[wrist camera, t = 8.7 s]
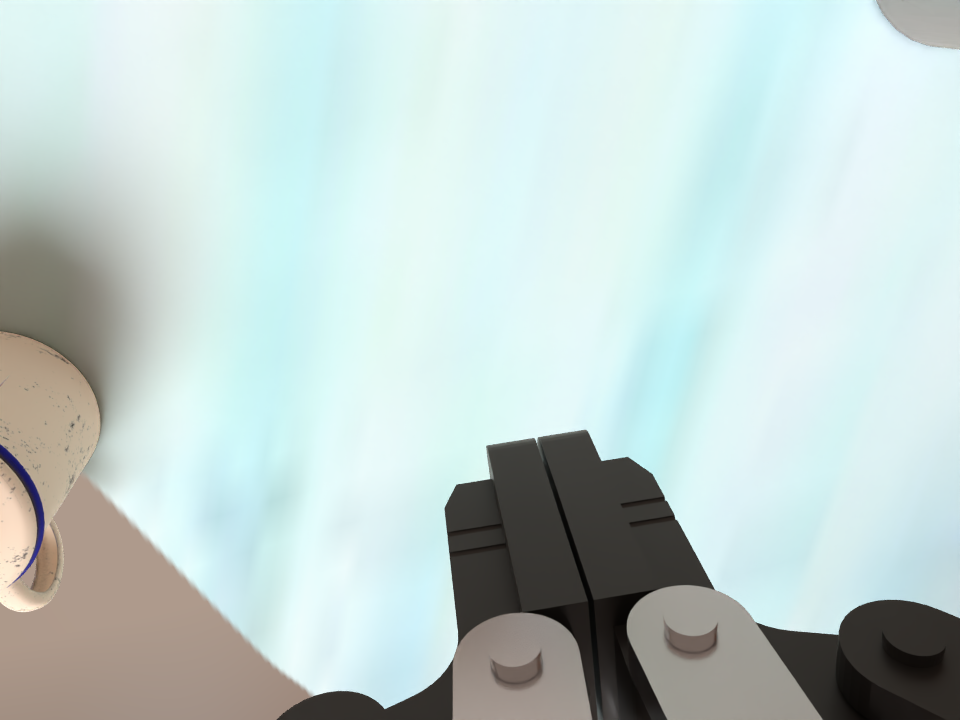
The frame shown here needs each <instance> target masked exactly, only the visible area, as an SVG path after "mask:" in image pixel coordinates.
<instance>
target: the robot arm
mask: <svg viewBox="0 0 960 720" xmlns="http://www.w3.org/2000/svg"><path fill="white" fill-rule="evenodd" d="M876 1H877V3H878V5H879V7H880V9H881V11H882V13H883V15H884V16H885V17H886V18H887V20H888V21H889V22H890V23H891V24H892V25H893V27H894V28H895V29H896V30H898V31H899V32H901V33H902V34H904V35H905V36H906V37H908V38H909V39H911V40H913V41H916V42H919V43H922V44H925V45H928V46H932V47H941V48H950V49H959V50H960V0H876ZM537 445H538V446H537ZM486 448H487V457H488V465H489V472H490V479H489V480H483V481H477V482H470V483H464V484H458V485H456V487H455V489H454V491H453V492H452V494H451V496H450V498H449V500H448V502H447V504H446V506H445V517H446V526H447V534H448V545H449V553H450V563H451V572H452V581H453V590H454V599H455V609H456V618H457V627H458V645H457V649H456V652H455V655H454V658H453V660H452V662H451V663H450V665H449V667H448V668H447V669H446V671H445V672H444V673H443V674H442V675H441V677H440V678H438V679H437V680H436V681H435V682H434V683H433V684H432V685H430V686H429V687H427V688H426V689H425V690H423V691H422V692H420V693H418V694H416V695H414V696H412V697H410V698H408V699H406V700H404V701H402V702H400V703H397V704H395V705H393V706H391V707H389V708H387V709H384V708H383V707H382V706H381V705H380V704H379V703H378V702H377V701H375V700H374V699H372V698H370V697H368V696H366V695H363V694H360V693H356V692H350V691H335V692H327V693H323V694H319V695H316V696H313V697H311V698H308V699H306V700H303V701H302V702H300V703H298V704H296V705H294V706H293V707H291V708H290V709H289V710H287V711H286V712H285V713H283V714H282V715H281V716H280V717H279V718H278V719H277V720H960V618H958V617H955V616H953V615H950V614H948V613H946V612H943V611H941V610H938V609H935V608H933V607H930V606H927V605H923V604H919V603H915V602H910V601H903V600H881V601H874V602H870V603H866V604H864V605H861V606H858V607H857V608H855V609H854V610H852V611H851V612H850V613H848V614H847V615H846V616H845V618H844V619H843V621H842V623H841V625H840V629H839V635H833V634H821V633H809V632H797V631H788V630H780V629H776V628H772V627H768V626H765V625H762V624H759V623H756V622H755V621H754V620H753V618H752V617H751V615H750V614H749V613H748V612H747V610H746V609H745V608H744V607H743V606H742V605H741V604H739V603H738V602H737V601H736V600H734V599H732V598H731V597H729V596H728V595H725V594H723V593H721V592H719V591H716V590H715V589H714V587H713V585H712V584H711V582H710V580H709V578H708V576H707V574H706V573H705V571H704V569H703V567H702V565H701V563H700V561H699V560H698V558H697V556H696V554H695V552H694V550H693V548H692V547H691V545H690V543H689V541H688V539H687V537H686V536H685V534H684V532H683V530H682V528H681V526H680V524H679V523H678V521H677V520H675V515H674V513H673V511H672V510H671V508H670V506H669V504H668V502H667V501H665V497H664V495H663V493H662V491H661V489H660V487H659V486H658V484H657V482H656V480H655V478H654V476H653V474H651V473H650V472H649V471H647V470H646V469H644V468H643V467H641V466H640V465H639V464H637V463H636V462H634V461H633V460H631V459H630V458H629V457H625V458H618V459H612V460H606V461H601V459H600V457H599V455H598V453H597V451H596V448H595V446H594V444H593V442H592V439H591V437H590V435H589V433H588V431H587V430H581V431H575V432H568V433H562V434H556V435H549V436H543V437H538V440H537V443H536V440H535V439H534V438H532V439H525V440H519V441H513V442H507V443H500V444H494V445H488V446H486Z"/></svg>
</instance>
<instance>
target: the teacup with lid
mask: <svg viewBox="0 0 960 720" xmlns="http://www.w3.org/2000/svg"><path fill="white" fill-rule="evenodd" d="M100 425H101V424H100V413H99V408H98V404H97V400H96V398H95V395H94V393H93V391H92V389H91V387H90V385H89V384H88V382H87V381H86V379H85V378H84V376H83V375H82V374H81V373H80V371H79V370H78V369H77V368H76V367H75V366H74V365H73V364H72V363H71V362H70V361H69V360H67V359H66V358H65V357H64V356H62V355H61V354H60V353H58V352H57V351H55V350H54V349H52V348H50V347H48V346H47V345H45V344H43V343H41V342H38V341H36V340H34V339H31V338H28V337H25V336H22V335H18V334H14V333H9V332H2V331H0V602H1V603H2V604H3V605H5V606H6V607H7V608H9V609H11V610H14V611H18V612H28V611H32V610H35V609H39V608H41V607H43V606H45V605H46V604H47V603H49V602H50V601H51V600H52V598H53V597H54V595H55V594H56V591H57V590H58V587H59V585H60V581H61V578H62V573H63V562H64V556H63V545H62V540H61V537H60V533H59V531H58V528H57V526H56V524H55V522H54V520H53V517H54V516H55V514H56V512H57V511H58V509H59V507H60V506H61V504H62V503H63V501H64V500H65V498H66V496H67V495H68V493H69V491H70V490H71V488H72V487H73V485H74V483H75V482H76V480H77V479H78V477H79V475H80V474H81V472H82V470H83V469H84V467H85V466H86V464H87V462H88V461H89V459H90V458H91V456H92V454H93V452H94V450H95V448H96V445H97V442H98V439H99V434H100ZM35 558H36V570H35V577H34V581H33V584H32V586H31V589H30V588H28V586H27V585H26V584H25V583H24V582H23V581H22V579H21V578H20V577H21V576H22V575H23V574H24V573H25V572H26V570H27V569H28V568H29V567H30V566H31V564H32V563H33V561H34V560H35Z"/></svg>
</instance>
